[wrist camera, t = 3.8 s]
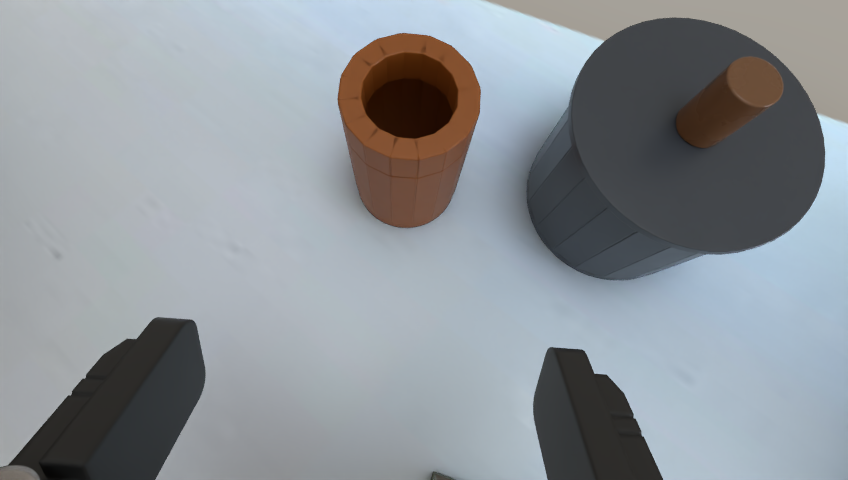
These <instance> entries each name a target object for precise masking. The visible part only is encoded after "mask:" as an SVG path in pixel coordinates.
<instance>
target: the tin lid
mask: <svg viewBox="0 0 848 480" xmlns="http://www.w3.org/2000/svg"><path fill="white" fill-rule="evenodd" d="M568 127H569V137H570V141H571V145H572V150H573V153H574V156H575V158H576V161H577V164H578V166H579V168H580V170H581V172H582V174H583V176H584V178H585V180H586V182H587V183H588V184H589V186H590V187H591V189H592V190H593V192H594V193H595V195H596V196H597V197H598V198H599V199H600V200H601V202H602V203H603V204H604V205H605V206H606V207H607V208H608V209H609V210H610V211H611V212H612V213H613V214H614V215H615V216H617V217H618V218H619V219H620V220H621V221H622V222H624V223H625V224H627V225H628V226H629V227H631V228H632V229H634V230H635V231H637V232H638V233H640V234H642V235H644V236H646V237H647V238H649V239H651V240H653V241H656V242H658V243H661V244H663V245H666V246H668V247H671V248H675V249H679V250H682V251H686V252H692V253H699V254H729V253H738V252H742V251H745V250H749V249H753V248H756V247H759V246H762V245H764V244H766V243H769V242H771V241H773V240H775V239H777V238H779V237H780V236H782V235H783V234H785V233H786V232H788V231H789V230H790V229H791V228H793V227H794V226H795V225H796V224H797V223H798V222H799V221H800V220H801V219H802V218H803V216H804V215H805V214H806V213H807V211H808V210H809V209H810V207H811V205H812V203H813V202H814V200H815V198H816V196H817V194H818V191H819V188H820V186H821V183H822V178H823V173H824V167H825V147H824V137H823V133H822V129H821V125H820V121H819V119H818V116H817V113H816V111H815V108H814V106H813V104H812V102H811V100H810V98H809V96H808V94H807V93H806V91H805V90H804V89H803V87H802V86H801V84H800V82H799V81H798V80H797V79H796V77H795V76H794V75H793V74H792V73H791V71H790V70H789V69H788V68H787V67H786V66H785V65H784V64H783V63H782V62H781V61H780V60H779V59H778V58H777V57H776V56H774V55H773V54H772V53H771V52H769V51H768V50H767V49H766V48H764V47H763V46H761V45H760V44H758V43H757V42H755V41H753V40H752V39H750V38H748V37H747V36H745V35H743V34H741V33H739V32H737V31H735V30H732V29H729V28H727V27H724V26H722V25H718V24H715V23H711V22H707V21H702V20H696V19H690V18H663V19H655V20H650V21H645V22H641V23H639V24H636V25H632V26H630V27H628V28H626V29H624V30H622V31H620V32H618V33H616V34H614V35H613V36H612V37H610V38H609V39H607V40H606V41H605V42H603V43H602V44H601V45H600V46H599V47H598V48H597V49H596V50H595V51H594V52H593V54H592V55H591V56H590V57H589V59H588V60H587V61H586V63H585V64H584V66H583V68H582V70H581V71H580V73H579V75H578V77H577V79H576V81H575V84H574V87H573V89H572V92H571V97H570V102H569V110H568Z"/></svg>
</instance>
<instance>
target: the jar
mask: <svg viewBox="0 0 848 480" xmlns="http://www.w3.org/2000/svg"><path fill="white" fill-rule="evenodd" d="M480 95H481V90H480V86H479V83H478V81H477V78H476V76H475V73H474V71H473V68H472V66H471V65H470V63H469V62H468V61H467V60H466V59H465V58H464V57H463V56H462V55H461V54H460V53H459V52H458V51H457V50H456V49H455V48H453V47H452V46H451V45H449V44H446V43H444V42H442V41H440V40H438V39H436V38H433V37H431V36H427V35H418V34H407V33H402V34H401V33H399V34H395V35H391V36H387V37H383V38H379V39H376V40H374V41H373V42H371V43H370V44H368V45H367V46H366V47H364V48H363V49H361V50H360V51H358V52H357V53H356V54H355V55H354V56H353V57H352V59H351V60H350V62H349V63H348V65H347V67H346V68H345V70H344V71H343V73H342V74H341V78H340V85H339V92H338V106H339V110H340V114H341V119H342V123H343V128H344V132H345V136H346V141H347V145H348V149H349V154H350V158H351V162H352V167H353V171H354V175H355V180H356V184H357V187H358V190H359V194H360V197H361V200H362V202H363V203H364V205H365V207H366V208H367V209H368V211H369V212H370V213H371V214H372V215H373V216H375V217H376V218H377V219H379V220H381V221H382V222H384V223H387V224H389V225H392V226H396V227H404V228H410V227H417V226H421V225H424V224H427V223H429V222H431V221H432V220H434V219H435V218H437V217H438V216H439V215H440V214H441V213H442V212H443V211H444V210H445V209H446V208H447V206H448V204H449V203H450V200H451V198H452V196H453V194H454V192H455V188H456V185H457V182H458V179H459V176H460V173H461V170H462V167H463V163H464V160H465V157H466V154H467V151H468V148H469V145H470V142H471V138H472V135H473V132H474V129H475V126H476V123H477V120H478V116H479V113H480Z"/></svg>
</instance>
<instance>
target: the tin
mask: <svg viewBox="0 0 848 480" xmlns="http://www.w3.org/2000/svg"><path fill="white" fill-rule="evenodd" d="M568 110H569V106H568V108H567V109H566V111H565V113H564V114H563V116H562V117H561V119H560V120H559V122H558V123H557V125H556V126H555V128H554V129H553V131H552V132H551V134H550V135H549V137H548V139H547V140H546V142H545V143H544V145H543V146H542V148H541V149H540V151H539V152H538V154H537V156H536V159H535V161H534V162H533V165H532V167H531V170H530V173H529V177H528V182H527V203H528V208H529V213H530V216H531V219H532V222H533V224H534V226H535V228H536V230H537V233H538V234H539V236H540V237H541V239H542V240H543V242H544V243H545V244H546V245H547V247H548V248H549V249H550V250H551V251H552V252H553V253H554V254H555V255H556V256H557V257H558V258H559V259H561V260H562V261H563V262H565V263H566V264H567V265H569V266H571V267H572V268H574V269H576V270H578V271H580V272H582V273H585V274H587V275H590V276H593V277H597V278H601V279H608V280H628V279H635V278H638V277H642V276H645V275H649V274H653V273H656V272H659V271H661V270H664V269H667V268H670V267H672V266H675V265H678V264H681V263H683V262H686V261H689V260H692V259H694V258H697V257H700V256H702V255H705V254H699V253H692V252H686V251H682V250H679V249H675V248H671V247H668V246H666V245H663V244H661V243H658V242H656V241H653V240H651V239H649V238H647V237H646V236H644V235H642V234H640V233H638V232H637V231H635V230H634V229H632V228H631V227H629V226H628V225H627V224H625V223H624V222H622V221H621V220H620V219H619V218H618V217H617V216H615V215H614V214H613V213H612V212H611V211H610V210H609V209H608V208H607V207H606V206H605V205H604V204H603V203H602V202H601V200H600V199H599V198H598V197H597V196H596V195H595V193H594V192H593V190H592V189H591V187H590V186H589V184H588V183H587V182H586V180H585V178H584V176H583V174H582V172H581V170H580V168H579V166H578V164H577V161H576V158H575V156H574V153H573V150H572V145H571V141H570V137H569V127H568Z"/></svg>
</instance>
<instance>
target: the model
mask: <svg viewBox="0 0 848 480" xmlns="http://www.w3.org/2000/svg"><path fill="white" fill-rule="evenodd" d="M431 480H455V479H452V478H449V477H447V476H444V475H442V474H439V473H436V472H433V475H432V479H431Z"/></svg>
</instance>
